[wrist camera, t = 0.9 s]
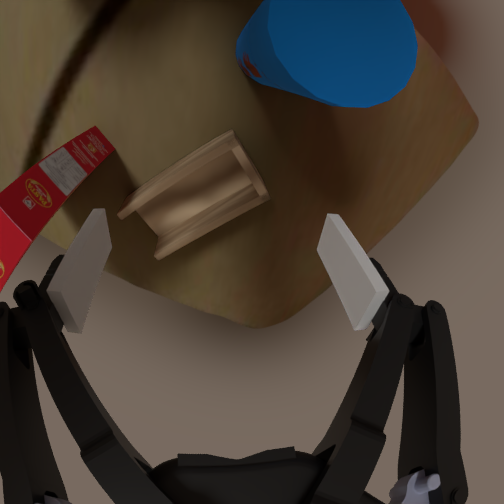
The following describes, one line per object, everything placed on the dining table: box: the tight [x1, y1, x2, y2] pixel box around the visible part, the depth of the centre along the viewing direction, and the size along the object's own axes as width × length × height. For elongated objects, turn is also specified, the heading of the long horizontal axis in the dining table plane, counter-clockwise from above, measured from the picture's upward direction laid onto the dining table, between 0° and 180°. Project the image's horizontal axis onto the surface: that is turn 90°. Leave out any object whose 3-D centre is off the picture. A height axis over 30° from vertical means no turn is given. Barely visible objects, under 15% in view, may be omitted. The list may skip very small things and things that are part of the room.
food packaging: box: [0, 126, 115, 292], centre depth 27 cm, size 15×5×25 cm, turn 122°
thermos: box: [236, 0, 418, 108], centre depth 22 cm, size 11×11×25 cm
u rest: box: [117, 129, 271, 261], centre depth 41 cm, size 10×20×6 cm, turn 118°
